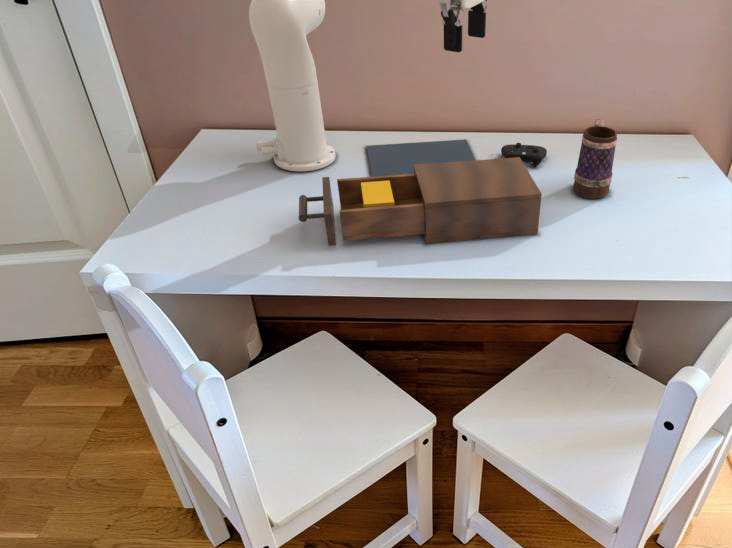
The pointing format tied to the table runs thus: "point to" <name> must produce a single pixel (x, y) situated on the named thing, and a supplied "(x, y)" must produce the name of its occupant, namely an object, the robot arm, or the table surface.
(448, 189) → the cabinet
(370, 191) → the sponge
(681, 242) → the table surface
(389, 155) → the mat
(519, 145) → the game controller
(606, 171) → the brown purple cylinder
